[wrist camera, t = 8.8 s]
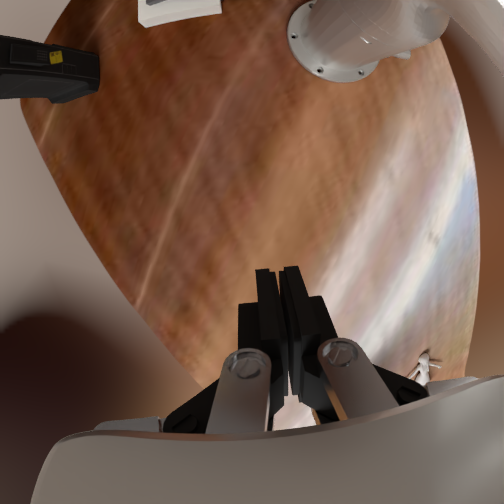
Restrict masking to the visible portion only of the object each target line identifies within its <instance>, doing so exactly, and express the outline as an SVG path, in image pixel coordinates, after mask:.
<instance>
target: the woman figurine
mask: <svg viewBox="0 0 504 504" xmlns="http://www.w3.org/2000/svg"><path fill="white" fill-rule="evenodd" d="M418 360H419V362H420V364H419V365H418V366H417V368H416V370H415V371H414V372H413V374H411V376H410V377H409V378H408V379H410V378H411V377H413V376H414V375H415V374H416V372H417V371H418V370H420V373H419V374H418V375H417V378H416V380H415V381H416V382H418V383H420V384H421V385H422V386H423V385H425V384H426V382H430V378H429V374H428V372H429V365H431V366H437V367H438V368H439V369H440V367H441V366H440V365H436V364H434V363H430V361H429V355H428V354H427V353H424V354H422V355H421V356H420V357H419V359H418ZM441 368H442V367H441ZM427 371H428V372H427Z"/></svg>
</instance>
